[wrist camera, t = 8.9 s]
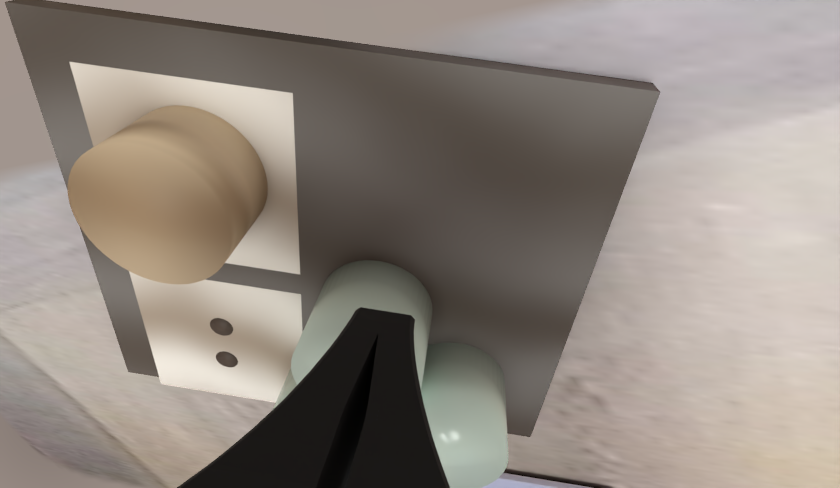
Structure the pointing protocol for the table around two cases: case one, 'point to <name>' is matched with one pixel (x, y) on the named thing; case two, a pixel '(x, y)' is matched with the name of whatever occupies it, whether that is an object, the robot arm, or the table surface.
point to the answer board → (351, 186)
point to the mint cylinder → (364, 289)
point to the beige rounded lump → (169, 194)
